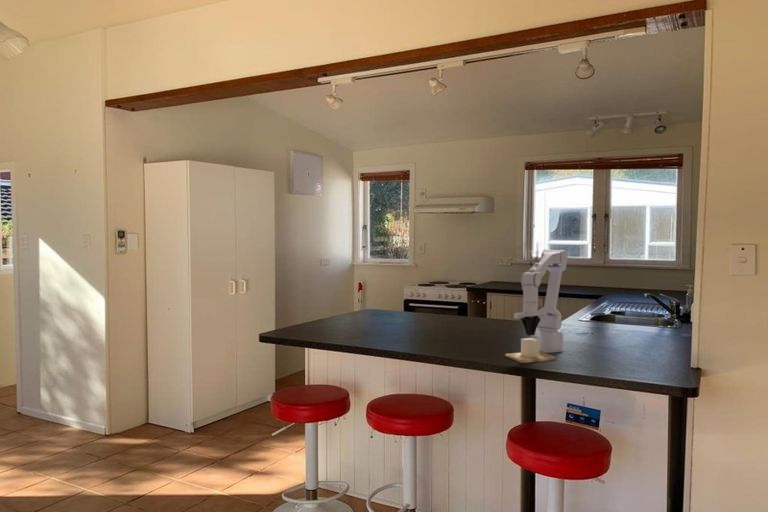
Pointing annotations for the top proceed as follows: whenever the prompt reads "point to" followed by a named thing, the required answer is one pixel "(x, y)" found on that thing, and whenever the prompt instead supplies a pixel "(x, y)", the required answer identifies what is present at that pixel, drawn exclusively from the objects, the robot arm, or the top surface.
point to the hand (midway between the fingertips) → (530, 335)
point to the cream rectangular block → (530, 347)
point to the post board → (524, 359)
